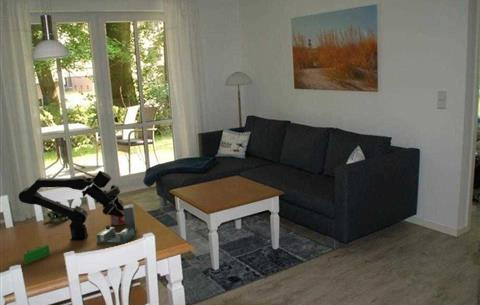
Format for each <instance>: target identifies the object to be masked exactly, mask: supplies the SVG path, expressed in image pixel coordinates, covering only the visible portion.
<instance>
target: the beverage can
mask: <svg viewBox="0 0 480 305" xmlns="http://www.w3.org/2000/svg"><path fill="white" fill-rule="evenodd" d="M118 200H119V202H120V203H121V205H122V206H123V207H124V205H126V204H125V203H124V201H123V200H122V199H118ZM119 211H120V212H121V213H122V214H123V215H124V211H121V210H119ZM109 216H110V218H109V219H110V224H112V225H113V226H121V225H124V224H125V217H124V216H123V217H119V216H114V215H109Z"/></svg>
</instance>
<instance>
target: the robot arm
mask: <svg viewBox="0 0 480 305" xmlns="http://www.w3.org/2000/svg"><path fill="white" fill-rule="evenodd" d="M111 180H112V177H111V175H110V174H108V173H107V172H106V173H105V172H104V171H102V170H99V171H98V172H97V173H96V175H95V176H94V177H87V176H85V175H78V176H73V177H70V178H63V177H61V178H57V177H56V178H55V177H54V178H46V177H45V178H44V177H39V178H37V179H36V180H35V181H34V183H33V184H32V185H31V186H29V187H26V188H24V189H23V190H21V192H20V193H19V194H18V199H19V202H20V203H23V204H26V205H27V204H29V205H36V206H39V207H42V208H45V209H47V210H48V211H51V210H52V211H54V212H57V213H59V214H62V215H64V216H66V217H68V218H69V220H70V223H69V228H70V235H71V238H70V239H69V240H70V241H83V240H84V239H86V238H87V237H88V236H89V234H88V229H87V228H88V227H86V224H85V222H86V221H87V219H88V211H87V210H86V209H85V208H83V207H80V206H78V205H76V206H74V207H70V206H69V205H68V206H67V205H65V204H63V203H60V202H59V201H58V202H59V203H58V202H56V201H57V200H56V201H55V200H52V199H50V198H48V197H46V196H43V195H42V194H40V192H39V190H40V189H41V188H67V189H70V190H71V189H72V190H77V191H81V194H82V197H83V198H85V197H86V195H88V196H89V197H91V199H93V200H95V203H96V204H100V205H101V206H102V208H103V209H102V214H104V215H105V216H110V215H114V216H119V217H123V216H124V215H123V214H122V213H121V212H120V211H119V210H121V211H124V209H123V208H124V207H123V206H122V205H121V203H120V202H119V200H120V199H119V196H118V195H120V193H121V189H120V188H119V186H118V185H115V184H113V185H111V186H110V189H109V190H108V191H107V190H106V189H105V190H103V189H104V188H105V187H107V185H108V183H110V182H111ZM102 188H103V189H102Z"/></svg>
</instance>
